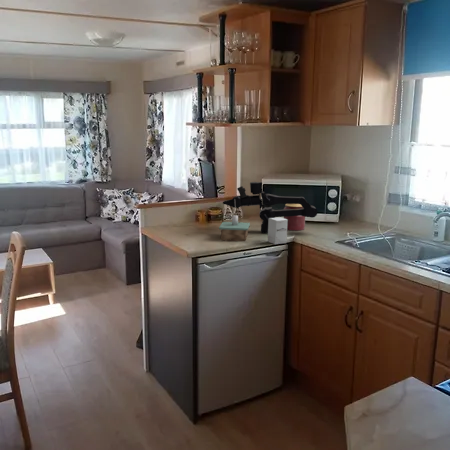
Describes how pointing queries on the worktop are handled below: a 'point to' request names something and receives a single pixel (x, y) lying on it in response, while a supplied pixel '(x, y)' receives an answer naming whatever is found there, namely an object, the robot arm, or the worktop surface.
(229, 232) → the box
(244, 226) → the lid
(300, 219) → the canister
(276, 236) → the supplement box
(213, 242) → the worktop surface
